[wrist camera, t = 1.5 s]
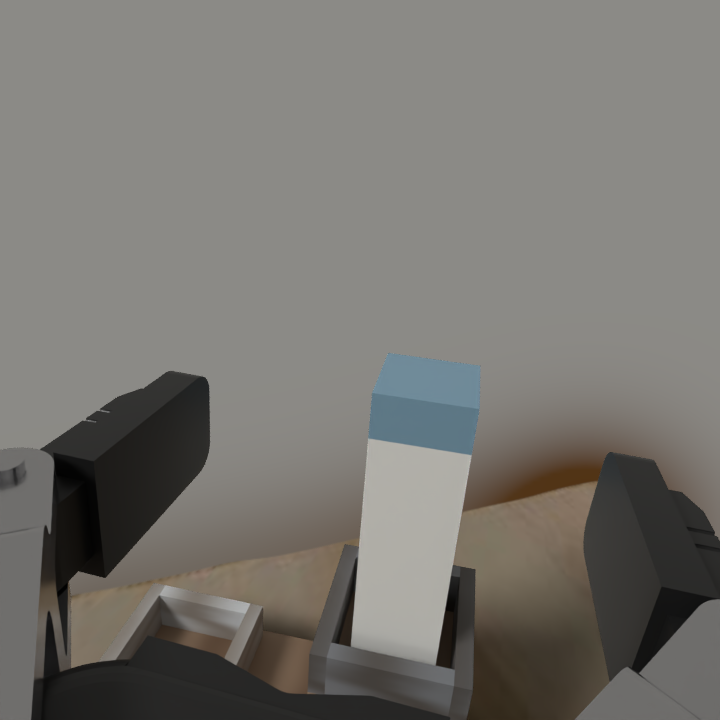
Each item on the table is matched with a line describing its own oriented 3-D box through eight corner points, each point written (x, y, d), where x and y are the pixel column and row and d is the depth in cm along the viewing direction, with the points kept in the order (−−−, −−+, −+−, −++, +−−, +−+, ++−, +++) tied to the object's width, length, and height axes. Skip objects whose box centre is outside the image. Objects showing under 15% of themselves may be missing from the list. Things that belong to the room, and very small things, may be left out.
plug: (437, 620, 31) (480, 365, 25) (431, 688, 27) (479, 408, 21) (364, 605, 31) (388, 352, 25) (348, 669, 28) (372, 392, 22)
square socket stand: (450, 694, 36) (475, 564, 31) (441, 842, 28) (472, 699, 24) (143, 624, 39) (127, 497, 35) (64, 742, 32) (33, 599, 27)
